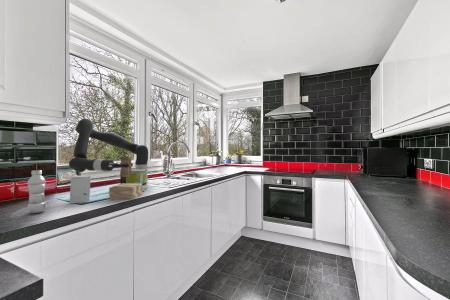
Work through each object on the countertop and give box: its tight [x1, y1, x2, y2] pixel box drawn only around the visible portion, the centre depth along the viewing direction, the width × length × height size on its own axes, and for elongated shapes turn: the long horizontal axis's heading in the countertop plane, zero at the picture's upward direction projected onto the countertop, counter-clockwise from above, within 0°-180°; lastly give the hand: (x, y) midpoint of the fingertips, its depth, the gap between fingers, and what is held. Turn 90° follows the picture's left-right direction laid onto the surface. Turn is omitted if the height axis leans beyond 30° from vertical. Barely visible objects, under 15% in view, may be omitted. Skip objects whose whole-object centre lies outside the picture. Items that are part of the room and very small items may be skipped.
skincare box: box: [69, 175, 91, 204], centre depth 116 cm, size 8×6×15 cm
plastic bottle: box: [27, 169, 47, 214], centre depth 96 cm, size 6×7×20 cm
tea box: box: [119, 169, 147, 192], centre depth 148 cm, size 15×10×15 cm
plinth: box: [108, 183, 143, 200], centre depth 128 cm, size 14×14×7 cm
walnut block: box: [120, 155, 132, 177], centre depth 128 cm, size 4×4×13 cm
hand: (130, 165), depth 128 cm, fingers closed on walnut block, 4 cm apart
